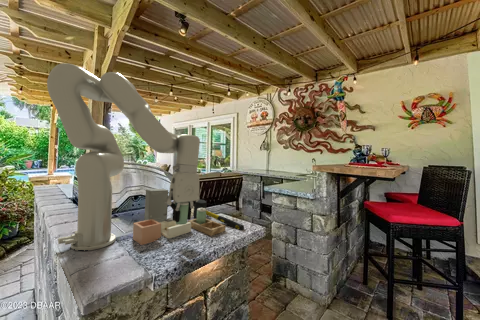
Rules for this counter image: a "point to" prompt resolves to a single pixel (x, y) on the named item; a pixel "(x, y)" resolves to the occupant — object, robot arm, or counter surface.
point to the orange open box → (146, 231)
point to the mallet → (215, 215)
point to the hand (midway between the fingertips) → (181, 219)
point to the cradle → (174, 228)
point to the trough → (208, 227)
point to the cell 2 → (201, 215)
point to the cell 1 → (183, 213)
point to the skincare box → (156, 204)
